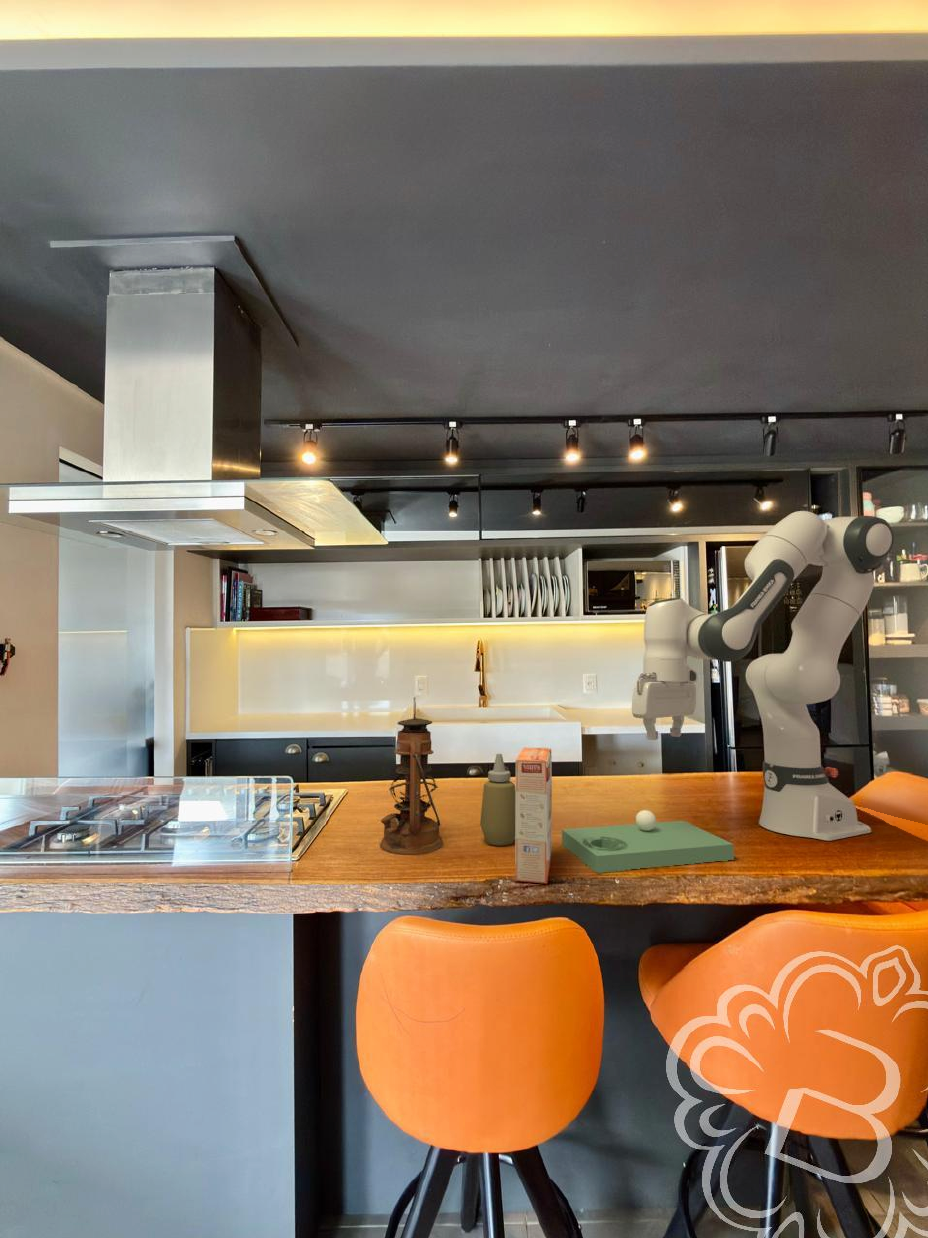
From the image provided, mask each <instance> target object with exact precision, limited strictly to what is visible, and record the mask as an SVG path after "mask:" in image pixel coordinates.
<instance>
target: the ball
mask: <svg viewBox="0 0 928 1238" xmlns="http://www.w3.org/2000/svg"><path fill="white" fill-rule="evenodd" d="M656 823H657V818H656V816H655V814H654V813H653V812H651V811H650V810H648V809H647V810H645V809H644V810H643V809H642V810H640V811H639V812H638V813H636V816H635V824H637V825H638V827H639V828H640V829H642V830H644V831H650V830H652V829H653V828H654V827H655V825H656Z"/></svg>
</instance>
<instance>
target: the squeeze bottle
mask: <svg viewBox="0 0 928 1238" xmlns="http://www.w3.org/2000/svg"><path fill="white" fill-rule="evenodd" d="M487 778H488V779H487V780H488V781H486V782H484V784H483V790H482V791H483V792H482V801H481V809H480V810H481V812H480V820H479V821H480V828H481V832H482V834H483V837H484V838H483V839H484V841H485V842H486V843H487V844H489V845H493V846H509V845H511V844H513V843H515V808H516V783H515V782H512V781H511V771H509V770H506V767H505V763H504V758H503V754H502V753H497V754H496V755H495V759H494V765H493V769H491V770H489V771H488V772H487Z"/></svg>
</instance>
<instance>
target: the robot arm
mask: <svg viewBox="0 0 928 1238" xmlns="http://www.w3.org/2000/svg"><path fill="white" fill-rule="evenodd" d="M893 544H894V532H893V529H892V526H891V525H890V523H889V522H888V521H887V520H885V519H884V518H881V517H879V516H878V517H877V516H873V515H859V516H838V517H837V516H836V517H833V518H832V517H831V518H826V519H823V518H821V517H820V516H819V515H818V514H816V513H814V512H812V511H808V510H799V511H794V512H792V513H789V514H788V515H787V516H786V517H784V518H782V519H781V520H779V522H777V523H776V524H775V525H774V526H772V527H771V528H770V529H769V530H768V531H767V532H765V534H764V535H762V537H761V538H760V539H759V540H758V541H757V542H756V543H755V544H754V546H753V547H752V548H751V549H750V551H749V553H748V554H747V556H746V557H745V559H744V569H745V572H746V575H747V576H748V578H749V579H750V580H751V581H752V582H751V583H750V584H749V586H747V588H746V589H745V590H744V592H743V593H742V594H741V596H740V597H739V598H738V599H737V601H736V602H735V603H734V604H733V605H732V606H730V607H729V608H727V609H724V610H722V611H718V612H716V613H715V612H714V613H709V614H706V612H702V611H700V610H698V609H696V608H694V607H692V606H691V605H689V604H688V603H687V602H686V601H685V600H684V599H683V598H680V597H672V598H665V599H660V600H655V601H653V602H651V603H649V604H648V606H647V607H646V611H645V616H644V623H643V624H644V625H643V642H644V645H645V646H644V647H645V648H644V650H645V652H644V654H643V662H642V663H643V671H642V672H643V673H640V674H639V677H638V678H637V679H636V683H635V684H634V687H633V690H632V692H633V693H632V701H631V713H632V716H633V717H634V718H637V719H642V723H643V725H644V729H645V730H646V739H647V740H649V741H655V740H658V739H659V731H658V730H656V723H657V719H659V718H660V719H662V718H671V719H672V720H673V721H672V726H671V727H670V728H669V736H670V737H674V738H680V737H681V736H682V728H683V725H684V723H685V716H692V715H694V713H695V710H696V706H697V705H696V702H697V687H696V684H695V683H696V682H697V681H698V672H696V671H695V670H694V669H692V668H691V667H690V666H689V665H688V663H687V661H688V657H691V658H694V659H698V660H699V659H700V660H716V661H721V662H728V663H729V662H730V663H731V662H735V661H738V660H741V659H743V658H744V657H745V656H747V655H748V654H749V653H750V652H751V650H752V648H753V646H754V643H755V642H756V641H755V640H756V637H757V635H758V632H759V630H760V629H761V628H760V627H761V626H762V625H763V623H764V621H765V620H766V619H767V618H768V617H769V615H770V613H772V611H773V610H774V609H775V607H777V605H778V604H779V602H780V601H781V600H782V598H783V597H784V596H785V594H787V592H788V590H789V588H790V587H791V585H792V583H793V582H794V581H795V579H796V578H797V577H799V575H800V574H801V573H802V572H803V571H804V569H806V568H807V566H809V567H810V566H811V567H813V566H821V567H822V573H821V576H820V580H819V581H818V582H817V583H816V584H815V586H814V587H813V588H812V589H811V591H810V593H809V594H808V596H807V598H806V599H805V601H804V603H803V604H802V605H801V607H800V608H799V610H798V612H797V614H796V615H795V617H794V618H793V620H792V622H791V624H790V626H791V628H790V629H791V632H792V635H791V640H790V642H789V645H788V647H787V649H786V650H785V651H784V652H782V653H769V654H765V655H762V656H760V657H758V658H756V659H754V660H752V661H751V662H750V663H749V665H748V666H747V668H746V671H745V680H746V684H747V685H748V687H749V688H750V690H751V691H752V693H753V696H754V699H755V702H756V705H757V708H758V709H757V710H758V712H759V717H760V719H761V720H760V721H761V725H762V733H763V734H762V735H763V751H764V760H763V762H762V777H763V782H764V790H763V798H762V799H763V801H762V808H761V811H760V812H761V813H760V817H759V820H758V825H759V826H761V827H763V828H764V829H767V830H769V831H772V832H776V833H779V834H782V835H783V834H785V835H789V836H795V837H803V838H810V839H811V838H812V839H816V840H817V839H818V840H822V841H827V842H828V841H829V842H830V841H836V840H840V839H845V838H849V837H851V838H852V837H855V836H859V835H864V834H865V835H866V834H869V833H872V828H871V827H870V826H869V825H867V824H866V823H863V822H861V821H858V813H857V808H856V805H855V804H854V802H853V801H852V800H851V799H850V798H849V797H847V795H845V794H844V793H842V792H841V791H840V790H838V789H837V788H836V787H835V786H833V785H832V784H831V783H830V780H829V778H828V777H832V778H837V777H838V776H839V770H838V768H835V767H830V766H826V767H823V765H822V759H821V737H820V730H819V728H818V726H817V725H816V724H815V723H814V721H813V719H812V718H811V715H810V713H809V709H808V706H807V705H813V704H817V703H822V702H826V701H828V700H831V699H832V698H833V697H834V696H835V695H837V693H838V691H839V689H840V684H841V675H840V672H839V670H838V662H839V661H838V660H839V658H840V654H841V650H842V649H843V646H844V644H845V642H846V640H847V638H848V637H849V635H850V633H851V632H852V630H853V629H854V627H855V625H856V624H857V622H858V620H859V619H860V618H861V616H862V614H863V612H864V610H865V608H866V606H867V604H868V602H869V600H870V597H871V594H872V593H873V592H872V591H873V589H874V586H875V578H874V575H873V572H874V571H876V570H877V569H878V568H880V567H881V566H882V564H883V562H884V561H885V560H886V558H887V557H888V555H889V554H890V552H891V550H892V548H893Z"/></svg>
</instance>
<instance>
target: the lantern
mask: <svg viewBox="0 0 928 1238" xmlns="http://www.w3.org/2000/svg"><path fill="white" fill-rule="evenodd" d="M413 701H414V708H413V718H409V719H404V720H400V721H397V724H396V725H399V726H402V728H401V730H398V731H397V739H396V744H395V746H396V748H395V750H393V753H394V754H396V755H398V756H400V757H399V758H400V759H399V761H400V762H399V763H400V764H399V765H397V767H396V768H395V772H396V773H398V774H399V775H398V776H396V777H395V778H394V780H392V782H391V784H390V787H389V789H388V791H389V792H390V794H391V796H392V798H393V800H394V801H395V804H394V805H393V808H394V809H395V810H397V811H399V813H398V812H394V813H390V814H387V815H386V816H384V817H383V818H382V819H380V822H381V824H383V825H384V827H383V838H382V840H381V841H380V843H379V847H380V849H381V850H383V851H385V852H387V853H390V854H396V855H414V856H415V855H421V854H428V853H432V852H433V851H437V850H439V849H440V848H442V847H443V845H444V841H443V839H442V837H441V836H440V826H441V821H440V818H439V815H438V812H437V809H436V806H435V803H434V801H433V797H432V794H431V793H432V792H434V791H436V789H438V786H437V784H436V780H435V778H434V777H433V776H431V775H430V774H428V773H430V772H431V771H432V767H431V765H429V755H432V754H434V750H432V739H431V735H432V734H431V731H429V730H428V728H427V726H429V725H431V724H433V721H432V720H429V719H424V718H418V717H417V715H416V713H417V711H416V710H417V703H416V697H413ZM425 777H426V778H428V779H430V780H432V782H428V781H427V780H426V778H425ZM404 778H405V781H404V782H402V783H397V782H398V781H399V779H400V781H401V780H402V779H404ZM421 780H422V781H421ZM395 783H397V784H395ZM394 784H395V785H394ZM421 784H422V785H424V787H425V791H426V794H422V795H421V788H422V787H421V786H422V785H421ZM428 785H429V786H431V787H433V788H431V789H430V788H429V786H428ZM402 786H404V789H405V790H404V792H402V791H399V794H400V795H402V796H397V795H396V792H395V788H398V787H402ZM427 796H428V799H429V800H428V801H424V799H425V797H426V798H427ZM395 798H399V799H400V800H402V801H398V800H397V799H395ZM430 808H432V809H433V812H434V815H435V817H436V820H434V819H432V818H430V817H427V816H426V815H425V814H426V813H427V812H428V809H430Z"/></svg>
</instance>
